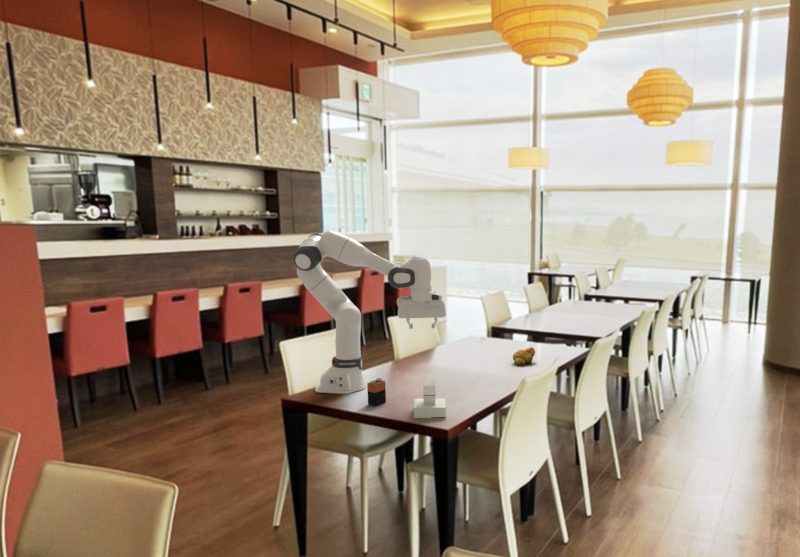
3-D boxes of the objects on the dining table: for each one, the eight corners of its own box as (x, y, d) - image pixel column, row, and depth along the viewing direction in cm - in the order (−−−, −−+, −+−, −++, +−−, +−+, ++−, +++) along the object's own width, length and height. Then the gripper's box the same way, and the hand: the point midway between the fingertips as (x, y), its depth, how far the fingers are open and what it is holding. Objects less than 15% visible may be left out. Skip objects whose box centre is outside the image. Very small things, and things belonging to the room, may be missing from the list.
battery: (386, 402, 228) (385, 378, 227) (375, 406, 223) (374, 382, 222) (378, 400, 231) (377, 377, 230) (367, 404, 226) (366, 380, 225)
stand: (413, 418, 208) (413, 407, 208) (415, 408, 219) (414, 398, 219) (445, 417, 208) (445, 407, 207) (445, 408, 218) (445, 398, 218)
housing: (423, 404, 211) (423, 385, 210) (423, 401, 216) (423, 382, 215) (435, 404, 211) (435, 385, 210) (435, 401, 215) (435, 382, 215)
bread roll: (524, 367, 277) (523, 351, 276) (507, 364, 283) (507, 349, 282) (536, 362, 286) (536, 346, 285) (520, 359, 292) (520, 344, 292)
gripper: (395, 297, 229) (397, 330, 230) (445, 296, 227) (446, 329, 229) (397, 295, 235) (398, 327, 237) (445, 294, 234) (446, 326, 235)
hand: (422, 328), depth 233 cm, fingers open, 8 cm apart
